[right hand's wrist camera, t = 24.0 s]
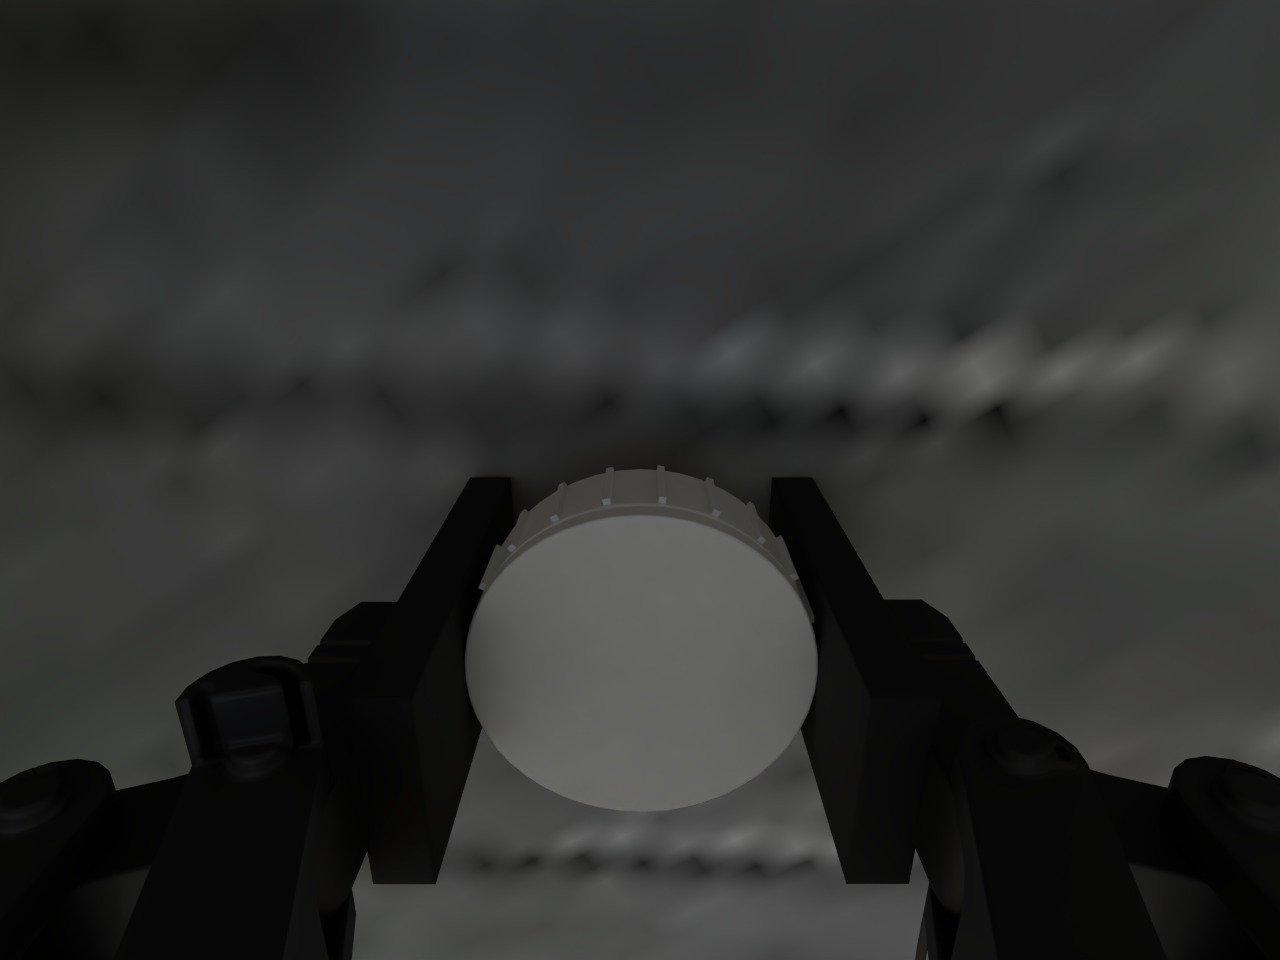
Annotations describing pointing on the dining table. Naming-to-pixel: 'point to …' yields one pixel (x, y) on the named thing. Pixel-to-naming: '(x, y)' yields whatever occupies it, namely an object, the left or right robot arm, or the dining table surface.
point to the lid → (641, 642)
